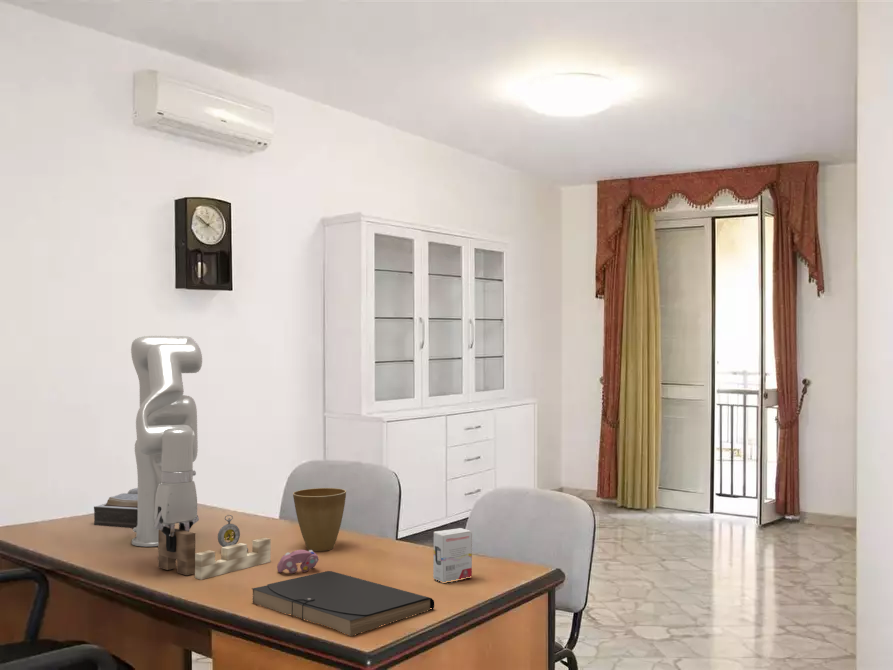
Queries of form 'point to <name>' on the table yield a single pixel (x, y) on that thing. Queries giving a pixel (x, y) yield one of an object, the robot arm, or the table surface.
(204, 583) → the table surface
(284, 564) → the video game controller
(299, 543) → the table surface
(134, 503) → the dark grey storage box
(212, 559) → the wooden crenellated block
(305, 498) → the plant pot
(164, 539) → the walnut plate
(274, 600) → the file folder
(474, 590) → the table surface
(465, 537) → the ink box
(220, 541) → the pocket watch
